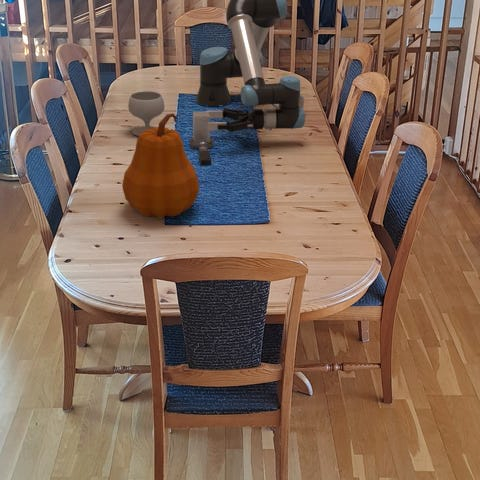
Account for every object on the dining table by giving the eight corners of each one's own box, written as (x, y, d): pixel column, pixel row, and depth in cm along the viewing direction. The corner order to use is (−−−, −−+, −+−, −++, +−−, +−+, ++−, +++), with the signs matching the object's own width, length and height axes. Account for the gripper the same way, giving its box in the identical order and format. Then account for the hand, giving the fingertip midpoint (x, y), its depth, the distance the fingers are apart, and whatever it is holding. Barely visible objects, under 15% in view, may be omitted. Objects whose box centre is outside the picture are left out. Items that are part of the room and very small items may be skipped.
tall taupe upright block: (193, 137, 287) (192, 111, 282) (208, 136, 288) (208, 111, 283) (194, 142, 282) (194, 117, 277) (210, 142, 282) (210, 116, 278)
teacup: (303, 111, 325) (304, 93, 321) (303, 119, 316) (304, 100, 312) (271, 109, 326) (272, 91, 323) (269, 117, 317) (270, 99, 313)
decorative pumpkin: (161, 187, 251) (158, 99, 237) (215, 207, 238) (215, 115, 224) (107, 210, 235) (101, 117, 221) (162, 233, 221) (158, 136, 207)
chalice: (122, 134, 295) (120, 97, 288) (142, 124, 306) (141, 88, 299) (152, 141, 290) (151, 103, 283) (172, 130, 301) (171, 93, 294)
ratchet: (189, 142, 289) (189, 127, 287) (212, 141, 290) (212, 126, 288) (193, 165, 268) (193, 149, 265) (218, 164, 269) (218, 149, 266)
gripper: (267, 140, 274) (209, 141, 272) (258, 118, 296) (204, 119, 294) (268, 120, 271) (209, 121, 268) (259, 99, 293) (204, 100, 290)
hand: (206, 120), depth 281 cm, fingers open, 13 cm apart
